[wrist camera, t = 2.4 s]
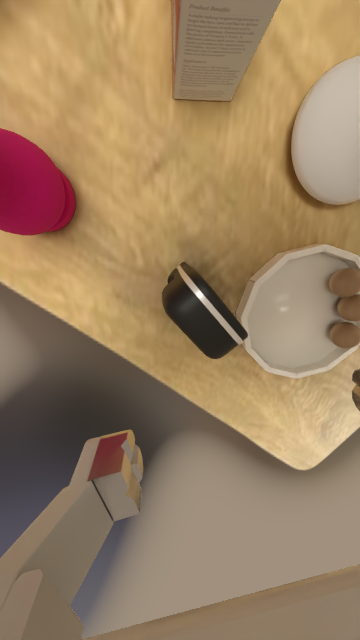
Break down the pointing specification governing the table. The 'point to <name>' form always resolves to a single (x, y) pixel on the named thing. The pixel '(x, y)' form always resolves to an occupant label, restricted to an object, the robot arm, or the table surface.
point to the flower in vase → (330, 136)
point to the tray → (295, 311)
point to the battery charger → (201, 313)
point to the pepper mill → (31, 188)
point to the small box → (215, 44)
